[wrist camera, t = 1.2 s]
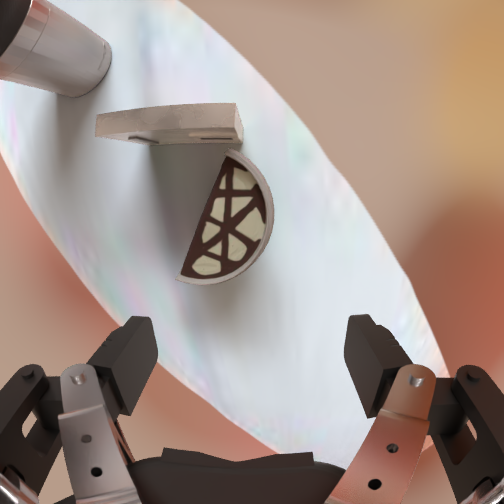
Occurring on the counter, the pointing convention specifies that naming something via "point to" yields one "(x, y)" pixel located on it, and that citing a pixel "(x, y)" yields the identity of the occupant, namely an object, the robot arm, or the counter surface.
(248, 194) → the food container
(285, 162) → the counter surface
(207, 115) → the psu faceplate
